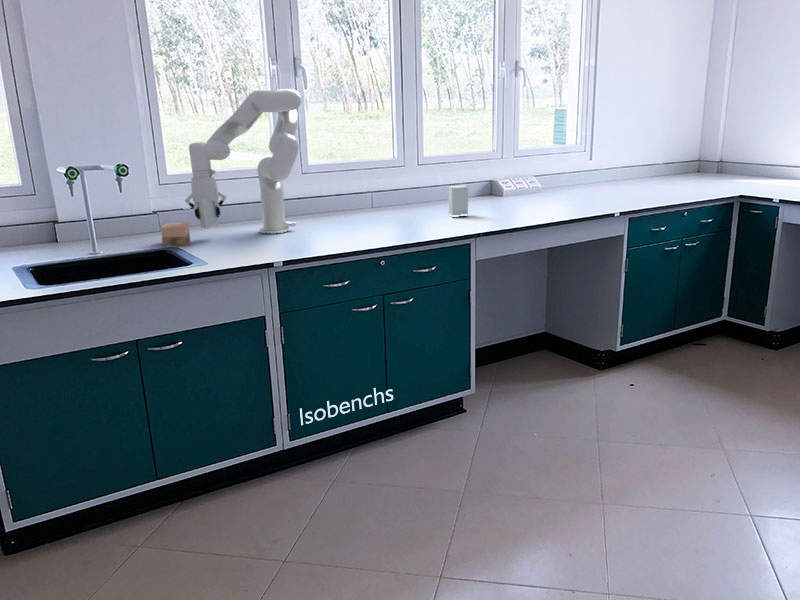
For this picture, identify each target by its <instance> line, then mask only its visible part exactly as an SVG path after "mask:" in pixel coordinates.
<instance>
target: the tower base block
mask: <svg viewBox="0 0 800 600" xmlns="http://www.w3.org/2000/svg"><path fill="white" fill-rule="evenodd" d="M161 240H162V241H161V242H162V243H161V244H162V248H167V247H166V246H176V247H189V246H190V245H191V233H190V232H189V234H188V235H187V236H186V237H168V238H162V237H161Z"/></svg>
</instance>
